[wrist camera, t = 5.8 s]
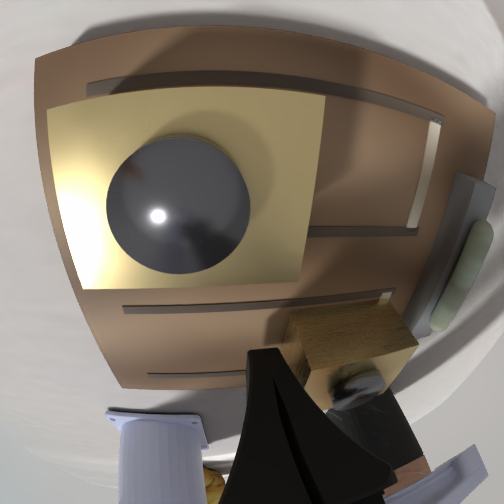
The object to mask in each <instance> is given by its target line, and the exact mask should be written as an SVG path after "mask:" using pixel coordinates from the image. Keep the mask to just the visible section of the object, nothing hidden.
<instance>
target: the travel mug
mask: <svg viewBox="0 0 504 504" xmlns="http://www.w3.org/2000/svg"><path fill="white" fill-rule="evenodd" d="M326 416H327V417H328V418H329V419H330V420H331V421H332V422H333V423H334V424H335V425H337V426H338V427H339V428H340V429H341V430H342V431H343V432H344V433H345V434H347V435H348V436H349V437H350V438H351V439H353V440H354V441H355V442H356V443H358V444H359V445H360V446H362V447H363V448H364V449H366V450H367V451H369V452H370V453H372V454H373V455H375V456H376V457H378V458H380V459H381V460H383V461H385V462H387V463H388V464H390V465H391V467H392V469H393V470H394V472H395V474H396V476H397V479H398V482H397V483H396V484H394V485H392V486H390V487H388V488H386V489H384V492H385V494H384V495H383V498H384V497H386V496H388V495H391V494H393V493H395V492H397V491H399V490H401V489H403V488H405V487H406V486H408V485H410V484H412V483H414V482H416V481H417V480H419V479H421V478H423V477H424V476H426V475H428V474H429V473H431V470H430V468H429V465H428V463H427V460H426V458H425V456H424V455H423V451H422V449H421V447H420V445H419V443H418V441H417V439H416V437H415V435H414V433H413V431H412V429H411V427H410V425H409V423H408V421H407V419H406V417H405V416H404V414H403V412H402V410H401V408H400V406H399V404H398V402H397V400H396V399H395V397H394V395H393V393H392V391H391V390H390V388H389V387H388V388H387V390H386V391H385V392H384V393H383V394H380V395H377V396H376V397H374V398H373V399H371V400H370V401H368V402H366V403H364V404H362V405H360V406H358V407H355V408H352V409H348V410H341V411H339V410H335V409H334V408H330V409H329V410H328V411H327V413H326Z"/></svg>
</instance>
